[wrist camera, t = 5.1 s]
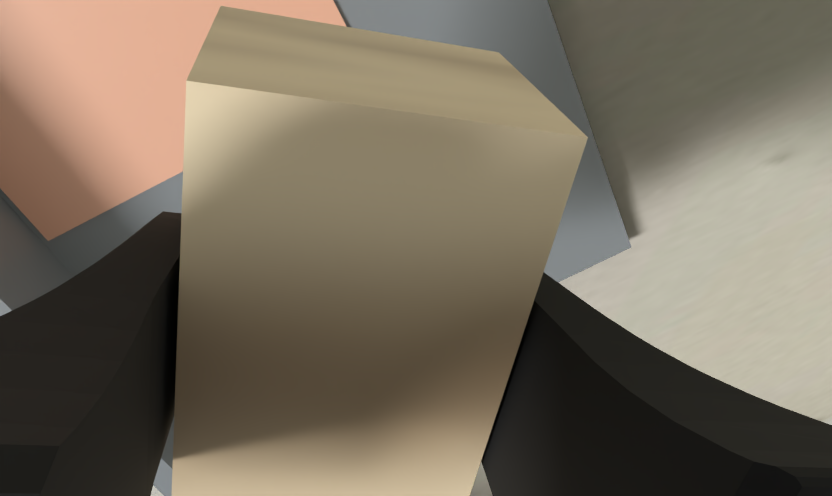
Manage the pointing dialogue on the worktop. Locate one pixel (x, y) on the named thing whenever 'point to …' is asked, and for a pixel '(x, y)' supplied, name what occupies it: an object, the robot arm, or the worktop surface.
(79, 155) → the board
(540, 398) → the robot arm
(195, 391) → the maple bar
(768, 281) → the worktop surface
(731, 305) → the worktop surface
